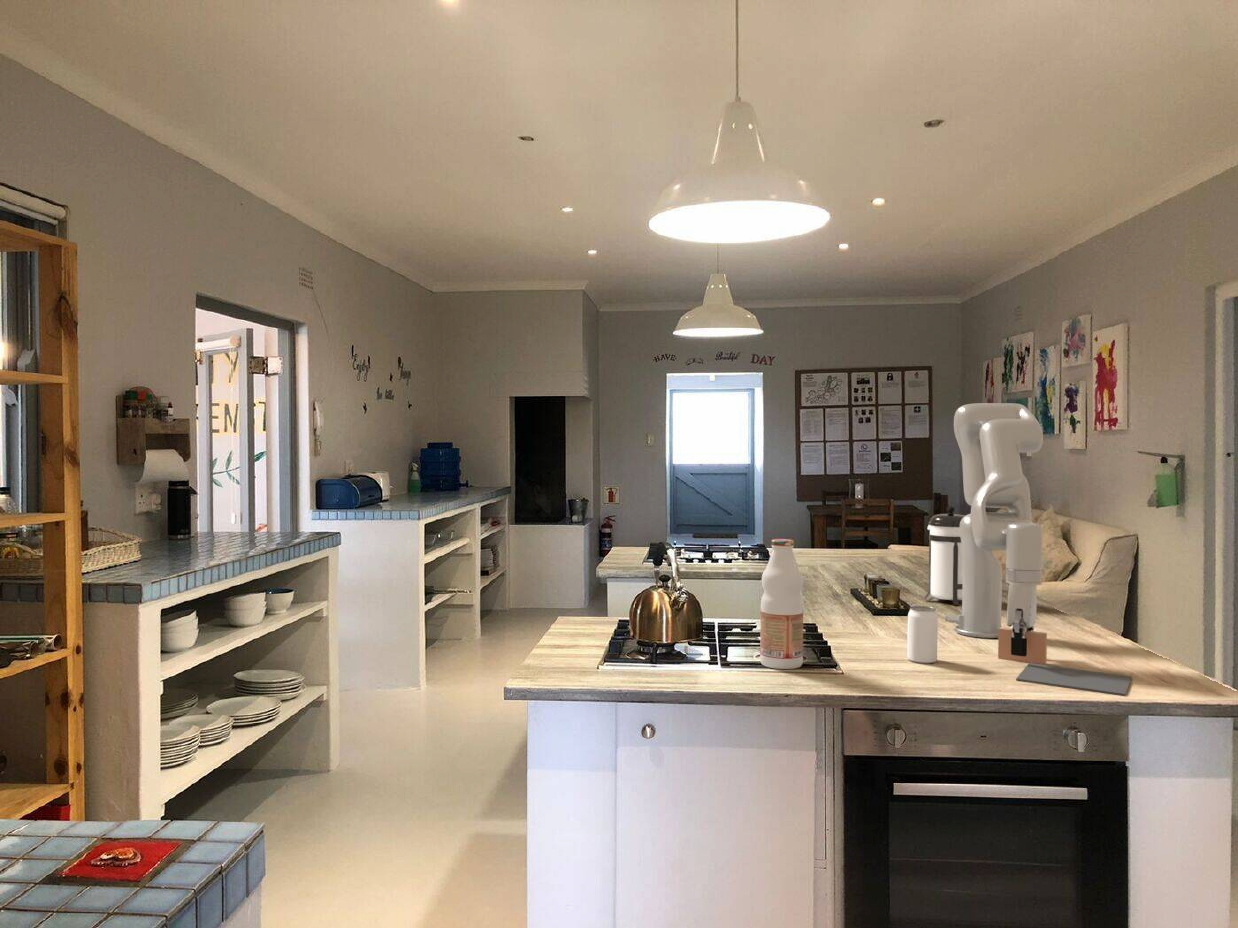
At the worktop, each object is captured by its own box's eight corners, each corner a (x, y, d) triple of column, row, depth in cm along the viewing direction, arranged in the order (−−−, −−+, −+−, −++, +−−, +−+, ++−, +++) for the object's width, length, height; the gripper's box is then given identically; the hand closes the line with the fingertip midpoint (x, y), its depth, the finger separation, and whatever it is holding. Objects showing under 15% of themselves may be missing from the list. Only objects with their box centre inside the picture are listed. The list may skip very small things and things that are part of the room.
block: (998, 658, 206) (998, 628, 206) (999, 657, 208) (1000, 627, 207) (1045, 664, 201) (1046, 634, 200) (1046, 663, 202) (1047, 632, 202)
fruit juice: (763, 669, 195) (765, 542, 194) (757, 659, 204) (758, 537, 203) (806, 670, 195) (808, 542, 194) (798, 659, 204) (799, 537, 203)
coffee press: (929, 605, 271) (930, 507, 271) (920, 596, 287) (921, 503, 286) (989, 607, 269) (990, 508, 268) (976, 598, 284) (978, 504, 283)
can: (936, 658, 206) (937, 606, 206) (937, 664, 200) (937, 611, 199) (907, 655, 208) (908, 604, 208) (906, 662, 202) (907, 609, 202)
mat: (1016, 680, 187) (1016, 678, 187) (1029, 664, 200) (1029, 662, 200) (1125, 695, 176) (1125, 693, 176) (1131, 678, 189) (1131, 676, 189)
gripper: (1013, 571, 213) (1012, 642, 213) (998, 579, 198) (997, 656, 199) (1047, 573, 209) (1046, 646, 209) (1035, 582, 194) (1034, 661, 195)
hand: (1022, 651), depth 204 cm, fingers open, 9 cm apart
